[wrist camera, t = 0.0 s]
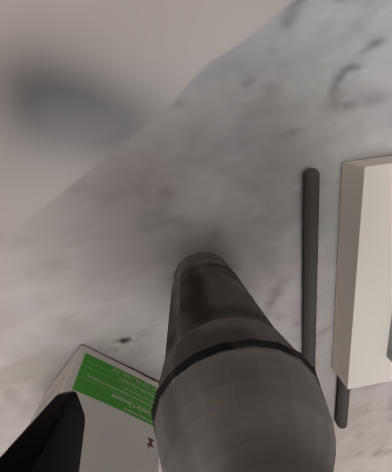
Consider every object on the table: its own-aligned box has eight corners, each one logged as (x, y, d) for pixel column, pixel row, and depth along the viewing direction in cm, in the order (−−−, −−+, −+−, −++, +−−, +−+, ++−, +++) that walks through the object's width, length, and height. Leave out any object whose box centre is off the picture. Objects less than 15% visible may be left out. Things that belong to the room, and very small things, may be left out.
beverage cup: (239, 225, 22) (675, 772, 3) (255, 305, 25) (547, 864, 6) (144, 249, 22) (44, 965, 3) (169, 328, 24) (197, 973, 6)
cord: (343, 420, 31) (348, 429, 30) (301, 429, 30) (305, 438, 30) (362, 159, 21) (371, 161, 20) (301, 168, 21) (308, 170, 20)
